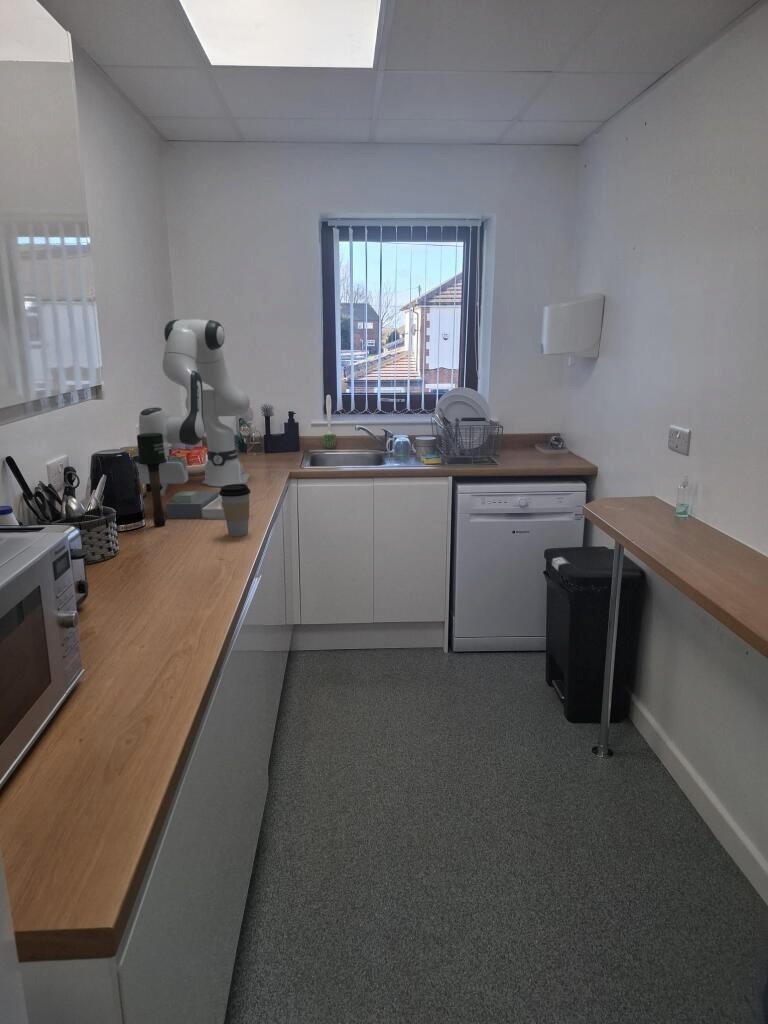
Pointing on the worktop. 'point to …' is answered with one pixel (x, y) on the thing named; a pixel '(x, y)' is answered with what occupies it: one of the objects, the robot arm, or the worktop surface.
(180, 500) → the tile
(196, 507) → the dark grey slab
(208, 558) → the worktop surface
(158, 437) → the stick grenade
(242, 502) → the coffee cup
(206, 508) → the box
